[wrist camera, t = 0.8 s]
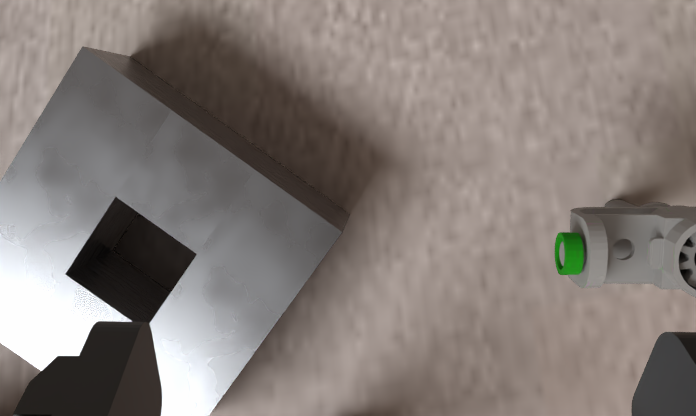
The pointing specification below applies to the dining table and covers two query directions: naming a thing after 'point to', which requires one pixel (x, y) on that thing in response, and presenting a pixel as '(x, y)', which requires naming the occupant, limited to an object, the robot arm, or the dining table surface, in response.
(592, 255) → the mechanical component
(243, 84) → the dining table surface
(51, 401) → the robot arm
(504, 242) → the dining table surface
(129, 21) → the dining table surface
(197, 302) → the grey square hole block
